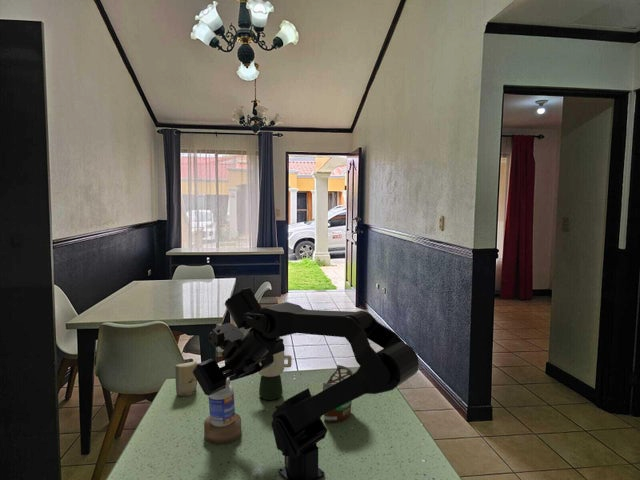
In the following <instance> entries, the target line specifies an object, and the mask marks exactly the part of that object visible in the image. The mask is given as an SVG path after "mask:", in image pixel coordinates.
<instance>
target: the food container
mask: <svg viewBox="0 0 640 480" xmlns="http://www.w3.org/2000/svg"><path fill="white" fill-rule="evenodd" d="M354 373H355V372H353V370H352V369H351V368H350V367H347V366H344V365H340V364H336V369H335V371H334V372H333V373H332V374H331V376H330V377H329V378H328V381H327V382H325V383H324V382H323V383H322V391H324V390H325V389H327V388H329V387H331V386H333V385H334V384H336V383H338V382H340V381H342V380H343V379H345V378H347V377H349V376H351V375H352V374H354ZM352 401H353V400H352ZM352 401H350V402H348V403H346V404H344V405H342V406H340V407H338V408H336V409H334V410H332V411H330V412H328V413H326V414H324V415H323V423H324V424H325V423H327V424H337V423H339V424H340V423H342V422H344V421H347V420H348V419H350V417H351V411H352Z"/></svg>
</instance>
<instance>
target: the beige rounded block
mask: <svg viewBox="0 0 640 480" xmlns="http://www.w3.org/2000/svg"><path fill="white" fill-rule="evenodd" d="M197 364H198V362H197V361H191V362H186V363H177V364H176V365H175V390H176V392H175V393H176V396H177V397H186V396H187V397H188V396H192V395H193V394H194V393H196V392H197V387H198V386H197V385H198V381H197V379H196V377H195V376H194V374H193V369H194V368H195V366H196V365H197Z"/></svg>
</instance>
